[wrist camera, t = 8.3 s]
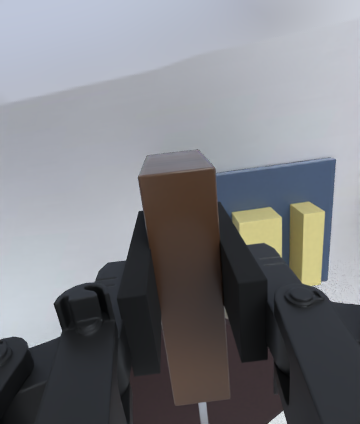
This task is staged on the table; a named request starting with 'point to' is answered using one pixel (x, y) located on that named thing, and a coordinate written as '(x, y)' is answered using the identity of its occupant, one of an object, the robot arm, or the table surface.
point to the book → (216, 410)
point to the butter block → (260, 227)
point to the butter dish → (282, 194)
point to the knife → (188, 273)
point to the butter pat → (306, 242)
